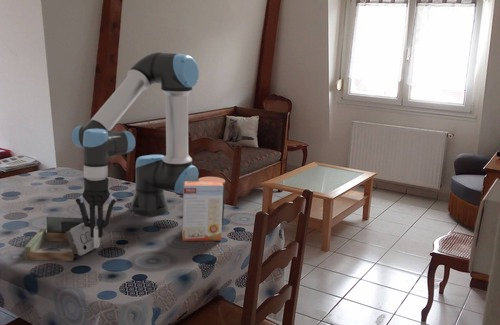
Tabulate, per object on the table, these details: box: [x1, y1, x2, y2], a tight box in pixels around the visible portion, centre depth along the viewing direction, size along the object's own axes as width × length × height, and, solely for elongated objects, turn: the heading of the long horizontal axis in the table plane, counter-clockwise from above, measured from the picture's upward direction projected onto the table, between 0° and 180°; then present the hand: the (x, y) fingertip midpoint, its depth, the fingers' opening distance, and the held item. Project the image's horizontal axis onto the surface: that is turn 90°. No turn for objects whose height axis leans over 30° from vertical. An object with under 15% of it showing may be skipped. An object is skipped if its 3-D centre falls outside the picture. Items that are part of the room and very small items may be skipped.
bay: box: [24, 228, 75, 262], centre depth 169 cm, size 15×17×4 cm
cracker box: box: [181, 181, 223, 242], centre depth 185 cm, size 14×6×21 cm, turn 100°
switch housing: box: [46, 212, 98, 233], centre depth 179 cm, size 16×5×8 cm, turn 95°
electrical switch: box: [66, 223, 96, 257], centre depth 169 cm, size 9×5×9 cm, turn 160°
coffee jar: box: [197, 176, 226, 225], centre depth 200 cm, size 11×11×18 cm
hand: (96, 246), depth 170 cm, fingers closed
